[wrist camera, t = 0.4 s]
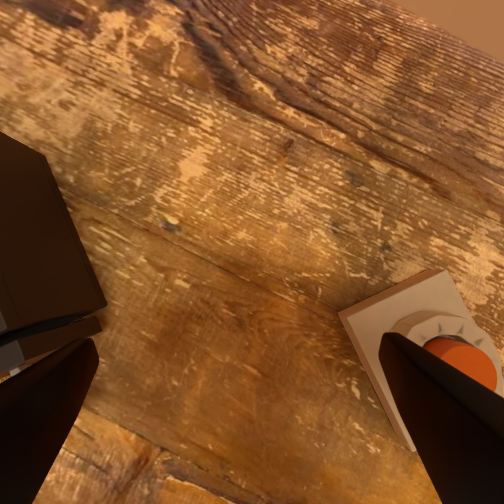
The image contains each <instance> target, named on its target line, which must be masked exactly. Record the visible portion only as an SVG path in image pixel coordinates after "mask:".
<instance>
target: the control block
mask: <svg viewBox="0 0 504 504" xmlns="http://www.w3.org/2000/svg"><path fill="white" fill-rule="evenodd" d="M338 316H339V318H340V320H341V322H342V324H343V326H344V328H345V330H346V332H347V334H348V336H349V338H350V340H351V342H352V344H353V346H354V348H355V350H356V353H357V355H358V357H359V359H360V361H361V363H362V365H363V367H364V369H365V371H366V373H367V375H368V377H369V379H370V381H371V383H372V385H373V387H374V390H375V392H376V394H377V396H378V398H379V400H380V402H381V404H382V406H383V408H384V410H385V412H386V414H387V416H388V418H389V420H390V422H391V424H392V427H393V429H394V431H395V433H396V434H397V435H398V436H399V437H400V439H401V440H402V441H403V442H404V443H405V444H406V445H407V447H408V448H409V449H410V450H411V451H412V452H414V451H416V448H415V446H414V444H413V441H412V439H411V437H410V435H409V433H408V431H407V429H406V427H405V425H404V423H403V421H402V419H401V416H400V414H399V412H398V410H397V407H396V405H395V402H394V400H393V397H392V394H391V391H390V389H389V386H388V383H387V381H386V378H385V375H384V372H383V370H382V367H381V364H380V361H379V358H378V351H379V347H380V342H381V338H382V335H383V333H385V332H398V333H400V334H402V335H403V336H405V337H406V338H408V339H410V340H411V341H413V342H415V343H416V344H418V345H419V346H421V347H423V348H424V346H425V345H427V344H428V343H429V342H431V341H433V340H435V339H439V338H450V339H453V340H456V341H459V342H462V343H465V344H468V345H471V346H474V347H476V348H478V349H480V350H482V351H483V352H484V353H485V354H486V355H487V356H488V357H489V358H490V359H491V360H492V362H493V364H494V366H495V369H496V372H497V386H496V390H495V393H497V394H499V395H500V396H502V397H503V398H504V377H503V375H502V373H501V370H502V360H501V357H500V355H499V353H498V351H497V349H496V347H495V345H494V343H493V341H492V340H491V338H490V336H489V334H487V332H485V331H484V330H482V329H481V328H479V327H478V326H477V325H476V324H475V322H474V320H473V318H472V316H471V314H470V312H469V310H468V308H467V306H466V305H465V303H464V301H463V299H462V297H461V295H460V293H459V291H458V289H457V287H456V285H455V284H454V282H453V280H452V278H451V276H450V274H449V272H448V270H426V271H424V272H422V273H419V274H417V275H415V276H413V277H411V278H409V279H407V280H405V281H403V282H401V283H398V284H396V285H394V286H392V287H390V288H388V289H386V290H384V291H382V292H380V293H378V294H375V295H373V296H371V297H369V298H367V299H365V300H363V301H361V302H359V303H357V304H354V305H352V306H350V307H348V308H346V309H344V310H342V311H340V312H338Z"/></svg>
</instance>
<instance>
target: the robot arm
mask: <svg viewBox="0 0 504 504" xmlns="http://www.w3.org/2000/svg"><path fill="white" fill-rule="evenodd" d="M378 358H379V361H380V364H381V367H382V370H383V372H384V375H385V378H386V381H387V383H388V386H389V389H390V391H391V394H392V397H393V400H394V402H395V405H396V407H397V410H398V412H399V414H400V416H401V419H402V421H403V423H404V425H405V427H406V429H407V431H408V433H409V435H410V437H411V439H412V441H413V444H414V446H415V448H416V450H417V452H418V454H419V456H420V458H421V460H422V462H423V464H424V466H425V468H426V471H427V473H428V475H429V477H430V479H431V481H432V483H433V485H434V487H435V489H436V491H437V493H438V495H439V497H440V500H441V502H442V504H504V398H503V397H502V396H500V395H499V394H497V393H495V392H494V391H492V390H490V389H489V388H487V387H486V386H484V385H482V384H481V383H479V382H478V381H476V380H474V379H473V378H471V377H469V376H468V375H466V374H465V373H463V372H461V371H460V370H458V369H457V368H455V367H453V366H452V365H450V364H448V363H447V362H445V361H444V360H442V359H440V358H439V357H437V356H436V355H434V354H432V353H431V352H429V351H427V350H426V349H424V348H423V347H421V346H419V345H418V344H416V343H415V342H413V341H411V340H410V339H408V338H406V337H405V336H403V335H402V334H400V333H398V332H385V333H383V335H382V338H381V342H380V347H379V351H378ZM98 365H99V356H98V353H97V350H96V347H95V344H94V341H93V340H92V339H91V338H77V339H75V340H73V341H71V342H70V343H68V344H66V345H65V346H63V347H61V348H60V349H58V350H56V351H54V352H53V353H51V354H49V355H48V356H46V357H44V358H43V359H41V360H39V361H37V362H36V363H34V364H32V365H31V366H29V367H27V368H26V369H24V370H22V371H20V372H19V373H17V374H15V375H14V376H12V377H10V378H9V379H7V380H5V381H3V382H2V383H0V504H32V503H33V501H34V499H35V497H36V495H37V493H38V491H39V490H40V488H41V486H42V484H43V482H44V480H45V478H46V476H47V474H48V472H49V470H50V468H51V466H52V465H53V463H54V461H55V459H56V457H57V455H58V453H59V451H60V449H61V447H62V445H63V443H64V441H65V440H66V438H67V436H68V434H69V432H70V430H71V428H72V426H73V424H74V422H75V420H76V418H77V416H78V414H79V412H80V409H81V407H82V405H83V402H84V400H85V397H86V395H87V392H88V390H89V387H90V385H91V383H92V380H93V378H94V375H95V373H96V370H97V368H98Z"/></svg>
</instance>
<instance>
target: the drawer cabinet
mask: <svg viewBox="0 0 504 504" xmlns="http://www.w3.org/2000/svg"><path fill="white" fill-rule="evenodd" d="M105 306H107V302H106V300H105V298H104V295H103V293H102V291H101V288H100V286H99V284H98V281H97V279H96V276H95V274H94V272H93V269H92V267H91V265H90V262H89V260H88V257H87V255H86V253H85V250H84V248H83V246H82V243H81V241H80V238H79V236H78V234H77V231H76V229H75V227H74V224H73V222H72V220H71V217H70V215H69V212H68V210H67V208H66V205H65V203H64V201H63V198H62V196H61V193H60V191H59V189H58V186H57V184H56V182H55V179H54V177H53V174H52V172H51V170H50V167H49V165H48V163H47V160H46V158H45V156H44V155H42V154H41V153H39V152H36V151H35V150H33V149H31V148H29V147H28V146H26V145H24V144H22V143H20V142H18V141H17V140H15V139H13V138H11V137H9V136H7V135H6V134H4V133H2V132H0V335H2V334H4V333H6V332H8V331H12V330H16V329H20V328H25V327H29V326H33V325H35V326H33V327H31V328H28V329H26V330H24V331H22V332H20V333H18V334H16V335H13V336H11V337H9V338H7V339H5V340H3V341H1V342H0V347H1V346H3V345H5V344H7V343H9V342H12V341H14V340H16V339H19V338H22V337H26V336H29V335H33V334H36V333H40V332H43V331H47V330H50V329H54V328H57V327H61V326H64V325H66V324H69V323H71V322H73V321H75V320H77V319H79V318H81V317H84V316H86V315H88V314H90V313H92V312H94V311H96V310H99V309H101V308H103V307H105Z"/></svg>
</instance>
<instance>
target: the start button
mask: <svg viewBox="0 0 504 504" xmlns="http://www.w3.org/2000/svg"><path fill="white" fill-rule="evenodd" d="M424 349H426V350H427V351H429V352H431V353H432V354H434V355H436V356H437V357H439V358H440V359H442V360H444V361H445V362H447V363H448V364H450V365H452V366H453V367H455V368H457V369H458V370H460V371H461V372H463V373H465V374H466V375H468V376H469V377H471V378H473V379H474V380H476V381H478V382H479V383H481V384H482V385H484V386H486V387H487V388H489V389H490V390H492V391H494V392H495V390H496V386H497V372H496V369H495V366H494V364H493V362H492V360H491V359H490V358H489V357H488V356H487V355H486V354H485V353H484V352H483V351H482V350H480V349H478V348H476V347H474V346H471V345H468V344H465V343H462V342H459V341H456V340H453V339H450V338H439V339H435V340H433V341H431V342H429V343H428V344H427V345H425V346H424Z"/></svg>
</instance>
